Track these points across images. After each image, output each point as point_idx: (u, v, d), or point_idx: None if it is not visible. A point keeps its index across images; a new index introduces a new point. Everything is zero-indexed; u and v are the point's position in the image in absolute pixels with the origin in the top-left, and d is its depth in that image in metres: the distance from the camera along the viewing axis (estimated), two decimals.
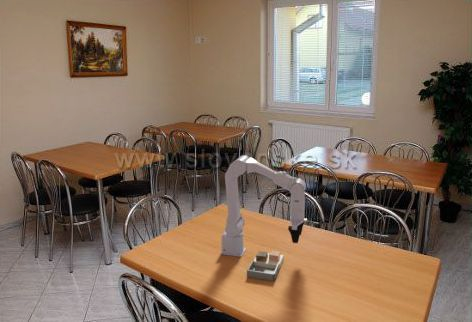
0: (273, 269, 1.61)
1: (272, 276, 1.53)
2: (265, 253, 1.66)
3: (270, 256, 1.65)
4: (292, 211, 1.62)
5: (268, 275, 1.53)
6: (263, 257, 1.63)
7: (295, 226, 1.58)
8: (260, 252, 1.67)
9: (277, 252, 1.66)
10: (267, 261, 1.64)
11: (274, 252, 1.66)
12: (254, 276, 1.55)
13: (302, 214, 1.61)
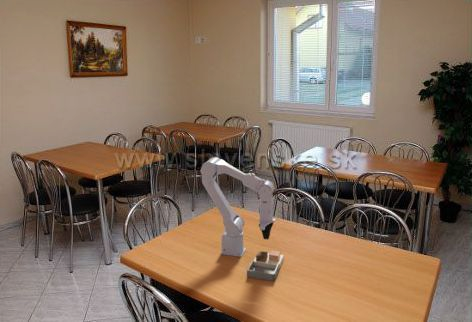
0: (273, 269, 1.61)
1: (272, 276, 1.53)
2: (265, 253, 1.66)
3: (270, 256, 1.65)
4: (261, 212, 1.67)
5: (268, 275, 1.53)
6: (263, 257, 1.63)
7: (263, 226, 1.62)
8: (260, 252, 1.67)
9: (277, 252, 1.66)
10: (267, 261, 1.64)
11: (274, 252, 1.66)
12: (254, 276, 1.55)
13: (270, 215, 1.66)
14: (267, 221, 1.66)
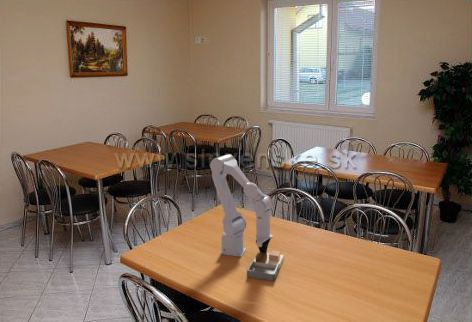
0: (273, 269, 1.61)
1: (272, 276, 1.53)
2: (265, 254, 1.65)
3: (270, 256, 1.65)
4: (257, 228, 1.63)
5: (268, 275, 1.53)
6: (263, 258, 1.63)
7: (260, 243, 1.59)
8: (259, 253, 1.66)
9: (277, 252, 1.66)
10: (267, 261, 1.64)
11: (274, 252, 1.66)
12: (254, 276, 1.55)
13: (267, 231, 1.63)
14: (264, 237, 1.63)
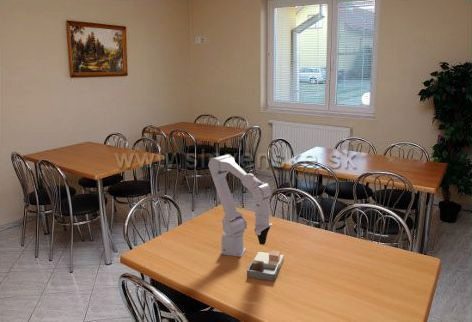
0: (273, 269, 1.61)
1: (272, 276, 1.53)
2: (260, 267, 1.58)
3: (270, 256, 1.65)
4: (256, 216, 1.59)
5: (268, 275, 1.53)
6: None
7: (258, 231, 1.55)
8: (255, 266, 1.59)
9: (277, 252, 1.66)
10: (267, 261, 1.64)
11: (274, 252, 1.66)
12: (254, 276, 1.55)
13: (266, 219, 1.58)
14: (263, 226, 1.58)
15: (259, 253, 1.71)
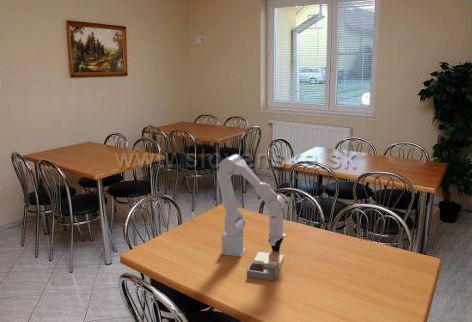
0: (273, 269, 1.61)
1: (272, 276, 1.53)
2: (260, 267, 1.58)
3: (270, 257, 1.64)
4: (271, 227, 1.64)
5: (268, 275, 1.53)
6: None
7: (273, 242, 1.60)
8: (255, 266, 1.59)
9: (277, 253, 1.66)
10: (267, 261, 1.64)
11: (274, 253, 1.66)
12: (254, 276, 1.55)
13: (280, 230, 1.63)
14: (277, 236, 1.63)
15: (259, 253, 1.71)
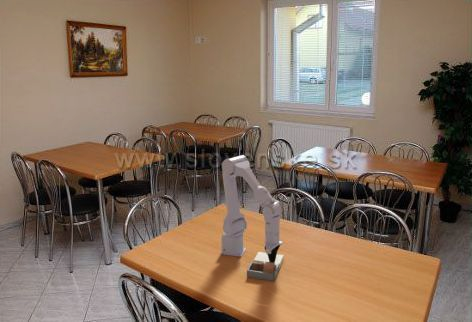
0: None
1: (272, 276, 1.53)
2: (260, 267, 1.58)
3: None
4: (266, 234, 1.57)
5: (268, 275, 1.53)
6: None
7: (269, 250, 1.53)
8: (255, 266, 1.59)
9: (270, 268, 1.57)
10: (267, 261, 1.64)
11: (267, 268, 1.57)
12: (254, 276, 1.55)
13: (277, 237, 1.57)
14: (273, 244, 1.57)
15: (259, 253, 1.71)
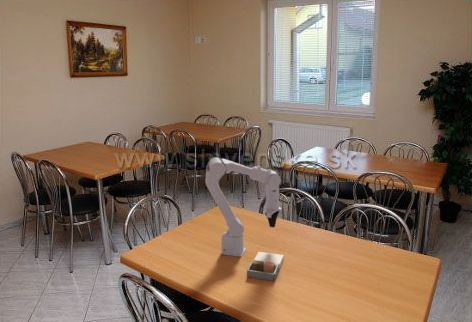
0: None
1: (272, 276, 1.53)
2: (260, 267, 1.58)
3: None
4: (267, 200, 1.73)
5: (268, 275, 1.53)
6: None
7: (269, 214, 1.68)
8: (255, 266, 1.59)
9: (270, 268, 1.57)
10: (267, 261, 1.64)
11: (267, 268, 1.57)
12: (254, 276, 1.55)
13: (276, 203, 1.72)
14: (273, 209, 1.72)
15: (259, 253, 1.71)
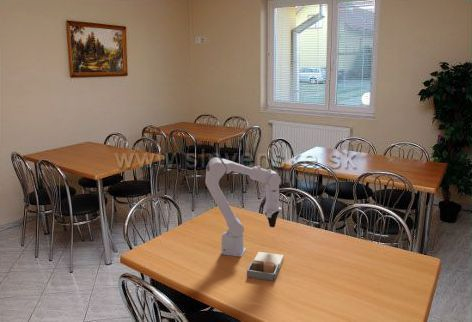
0: None
1: (272, 276, 1.53)
2: (260, 267, 1.58)
3: None
4: (267, 200, 1.73)
5: (268, 275, 1.53)
6: None
7: (269, 214, 1.68)
8: (255, 266, 1.59)
9: (270, 268, 1.57)
10: (267, 261, 1.64)
11: (267, 268, 1.57)
12: (254, 276, 1.55)
13: (276, 203, 1.72)
14: (273, 209, 1.72)
15: (259, 253, 1.71)
